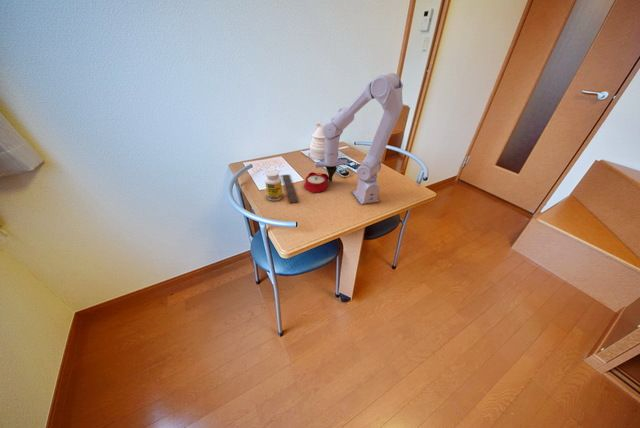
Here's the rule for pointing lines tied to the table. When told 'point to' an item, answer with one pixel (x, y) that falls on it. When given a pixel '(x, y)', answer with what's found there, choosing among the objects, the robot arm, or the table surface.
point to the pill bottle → (273, 186)
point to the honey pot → (318, 143)
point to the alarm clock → (316, 182)
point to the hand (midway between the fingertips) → (330, 180)
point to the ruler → (289, 189)
